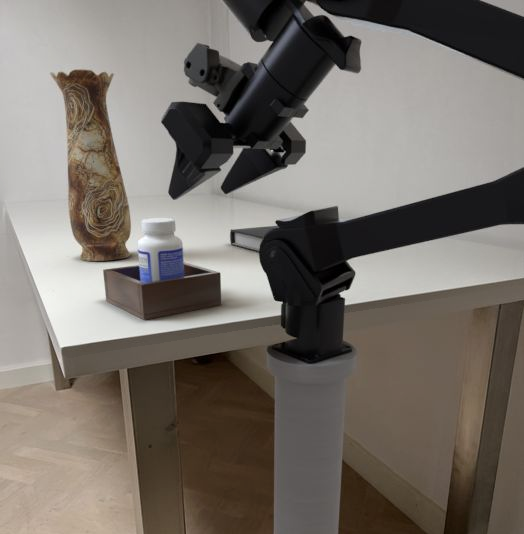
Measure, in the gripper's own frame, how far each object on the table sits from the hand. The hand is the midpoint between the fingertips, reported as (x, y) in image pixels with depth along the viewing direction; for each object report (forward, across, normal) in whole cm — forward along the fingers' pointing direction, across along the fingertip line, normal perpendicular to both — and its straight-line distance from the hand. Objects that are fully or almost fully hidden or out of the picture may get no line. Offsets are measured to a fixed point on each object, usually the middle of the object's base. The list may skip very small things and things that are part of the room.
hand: (199, 193), depth 62 cm
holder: (+14, 0, +5) cm, 15 cm away
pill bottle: (+14, 0, +5) cm, 15 cm away
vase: (+36, -18, -16) cm, 44 cm away
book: (+20, -48, -1) cm, 53 cm away
